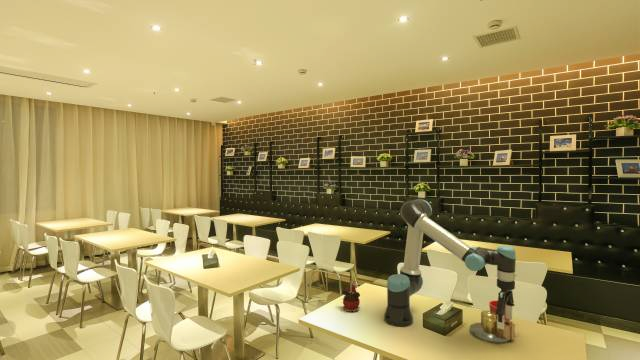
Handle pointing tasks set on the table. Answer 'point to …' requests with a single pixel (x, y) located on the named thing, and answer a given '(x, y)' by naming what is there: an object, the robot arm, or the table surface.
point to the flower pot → (494, 306)
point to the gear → (507, 330)
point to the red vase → (351, 298)
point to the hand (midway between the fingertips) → (504, 323)
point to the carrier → (487, 328)
